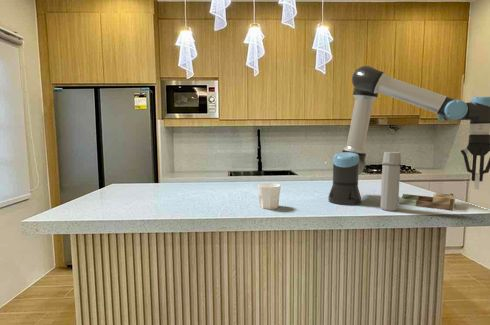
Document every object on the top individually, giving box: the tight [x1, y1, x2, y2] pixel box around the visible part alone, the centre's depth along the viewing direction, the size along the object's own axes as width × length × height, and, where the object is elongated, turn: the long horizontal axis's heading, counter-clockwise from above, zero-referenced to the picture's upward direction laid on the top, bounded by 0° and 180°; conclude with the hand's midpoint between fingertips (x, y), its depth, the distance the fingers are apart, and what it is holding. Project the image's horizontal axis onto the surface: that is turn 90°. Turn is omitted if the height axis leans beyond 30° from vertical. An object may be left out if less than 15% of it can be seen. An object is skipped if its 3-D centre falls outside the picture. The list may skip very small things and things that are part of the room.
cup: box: [257, 182, 281, 210], centre depth 136 cm, size 10×10×10 cm
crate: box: [432, 192, 456, 209], centre depth 138 cm, size 8×8×5 cm
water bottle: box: [379, 151, 402, 212], centre depth 132 cm, size 9×8×25 cm
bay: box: [398, 193, 454, 211], centre depth 142 cm, size 21×14×5 cm, turn 56°
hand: (476, 188), depth 131 cm, fingers closed
